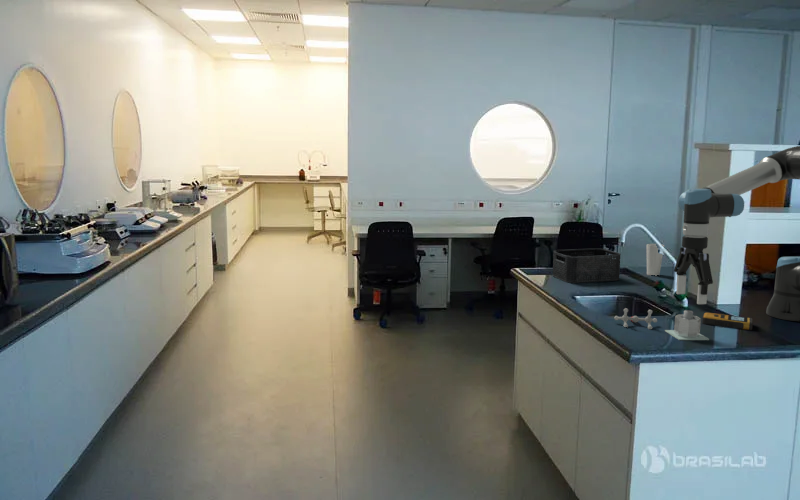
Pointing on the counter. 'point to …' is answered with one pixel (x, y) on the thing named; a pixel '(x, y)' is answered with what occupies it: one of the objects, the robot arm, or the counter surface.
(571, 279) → the storage bin
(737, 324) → the electronic device
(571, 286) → the counter surface
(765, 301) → the counter surface
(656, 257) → the cup
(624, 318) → the molecular model
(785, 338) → the counter surface
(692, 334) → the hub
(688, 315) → the block
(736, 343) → the counter surface
